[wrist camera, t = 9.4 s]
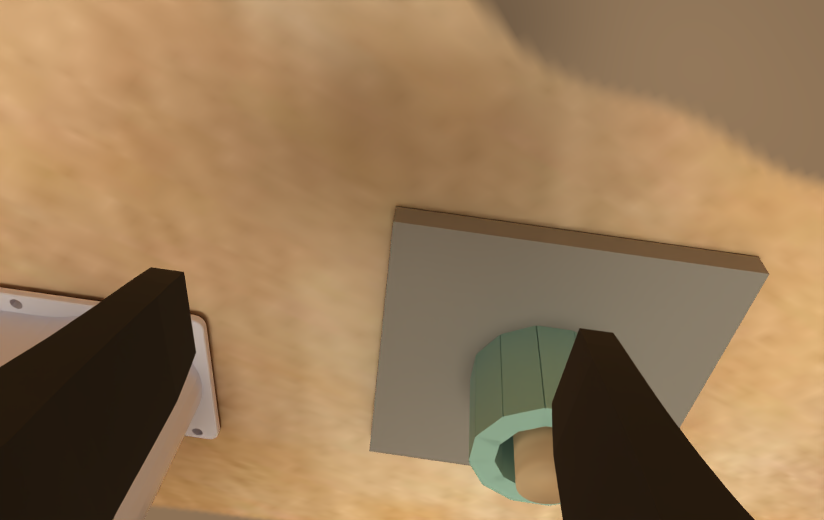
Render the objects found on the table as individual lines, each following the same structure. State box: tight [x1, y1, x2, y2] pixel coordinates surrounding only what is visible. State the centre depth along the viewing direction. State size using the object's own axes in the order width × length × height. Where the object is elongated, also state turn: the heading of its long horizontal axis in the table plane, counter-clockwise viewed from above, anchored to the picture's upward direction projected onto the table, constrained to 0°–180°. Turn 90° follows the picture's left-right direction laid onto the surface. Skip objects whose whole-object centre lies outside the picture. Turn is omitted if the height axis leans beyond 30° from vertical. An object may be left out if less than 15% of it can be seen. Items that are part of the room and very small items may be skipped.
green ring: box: [469, 326, 577, 506], centre depth 23 cm, size 5×5×4 cm
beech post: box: [513, 426, 560, 504], centre depth 23 cm, size 2×2×5 cm
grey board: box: [369, 207, 769, 466], centre depth 25 cm, size 13×13×1 cm
